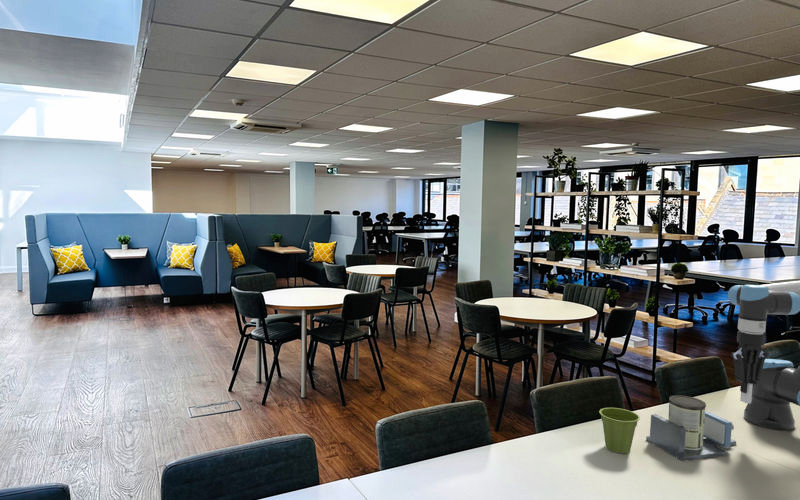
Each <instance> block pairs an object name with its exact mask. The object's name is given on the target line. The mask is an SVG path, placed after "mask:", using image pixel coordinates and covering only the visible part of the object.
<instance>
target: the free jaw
mask: <svg viewBox="0 0 800 500" xmlns="http://www.w3.org/2000/svg"><path fill="white" fill-rule="evenodd" d="M734 425H735V424H733V422H732V421H730V420H728V419H725V418H723V417H722V416H719V415H717V414H714V413H712V412H709V411H708V410H705V421H704V437H703V438H707V439H709V440H711V441H713V442H715V443H717V444H719V445H721V446H722V447H723V448H731V446H730V444H731V439H732V431H733V430H734V429H735V426H734Z"/></svg>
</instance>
